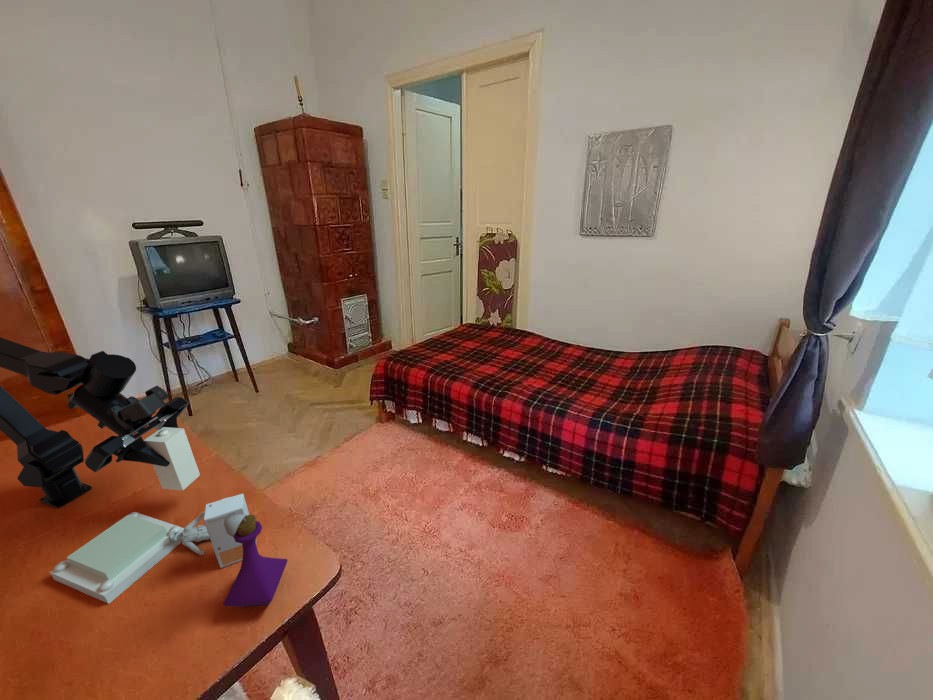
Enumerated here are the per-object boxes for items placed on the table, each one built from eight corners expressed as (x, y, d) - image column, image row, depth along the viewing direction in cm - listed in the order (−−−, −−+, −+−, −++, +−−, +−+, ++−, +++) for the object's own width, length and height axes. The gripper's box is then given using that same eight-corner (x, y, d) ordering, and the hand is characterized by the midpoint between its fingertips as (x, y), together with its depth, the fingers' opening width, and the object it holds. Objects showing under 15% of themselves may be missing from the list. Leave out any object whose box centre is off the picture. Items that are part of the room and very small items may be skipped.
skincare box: (220, 569, 68) (201, 520, 64) (221, 551, 72) (204, 503, 67) (257, 555, 71) (242, 507, 66) (257, 538, 74) (243, 492, 70)
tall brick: (162, 488, 77) (141, 437, 72) (180, 473, 82) (162, 424, 77) (183, 490, 77) (163, 439, 72) (200, 475, 81) (182, 425, 76)
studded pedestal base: (54, 579, 66) (44, 564, 65) (138, 519, 79) (132, 504, 77) (108, 603, 63) (99, 587, 61) (188, 536, 75) (182, 521, 73)
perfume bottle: (248, 575, 67) (222, 498, 60) (291, 571, 68) (270, 495, 61) (227, 618, 60) (195, 537, 53) (275, 614, 61) (250, 533, 54)
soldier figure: (242, 548, 73) (164, 561, 67) (239, 548, 77) (165, 561, 70) (245, 505, 76) (171, 513, 70) (242, 508, 80) (171, 516, 73)
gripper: (72, 409, 62) (154, 467, 65) (167, 362, 79) (229, 410, 82) (51, 445, 66) (129, 498, 69) (146, 392, 83) (205, 437, 86)
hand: (178, 456), depth 77 cm, fingers closed on tall brick, 5 cm apart
